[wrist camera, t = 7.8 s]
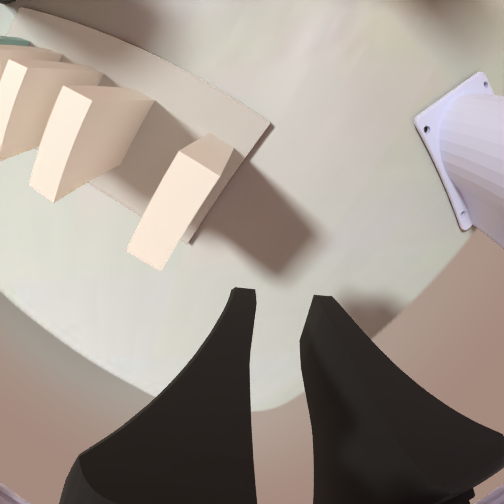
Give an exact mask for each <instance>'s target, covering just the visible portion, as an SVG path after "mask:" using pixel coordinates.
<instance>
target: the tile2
mask: <svg viewBox="0 0 504 504" xmlns="http://www.w3.org/2000/svg"><path fill="white" fill-rule="evenodd" d="M154 102H155V100H154V99H152V98H150V97H148V96H147V95H145V94H143V93H141V92H139V91H137V90H135V89H132V88H120V87H106V86H79V85H63V87H62V89H61V91H60V94H59V96H58V98H57V100H56V103H55V105H54V108H53V110H52V113H51V115H50V118H49V120H48V123H47V126H46V129H45V131H44V134H43V137H42V140H41V143H40V146H39V150H38V153H37V156H36V159H35V163H34V166H33V170H32V174H31V178H30V182H29V186H31V187H32V188H33V189H35V190H36V191H37V192H39V193H40V194H42V195H43V196H44V197H46V198H47V199H49V200H50V201H52V202H53V203H54V202H56V201H57V200H59V199H61V198H62V197H64V196H65V195H67V194H69V193H70V192H72V191H74V190H75V189H77V188H79V187H80V186H82V185H84V184H86V183H87V182H89V181H91V180H93V179H94V178H96V177H98V176H100V175H102V174H104V173H105V172H107V171H109V170H111V169H113V168H115V167H117V166H119V165H121V163H122V161H123V159H124V157H125V155H126V153H127V151H128V149H129V147H130V145H131V143H132V141H133V139H134V137H135V135H136V133H137V132H138V130H139V128H140V126H141V124H142V122H143V121H144V119H145V117H146V115H147V114H148V112H149V110H150V108H151V107H152V105H153V103H154Z"/></svg>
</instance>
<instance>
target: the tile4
mask: <svg viewBox="0 0 504 504" xmlns="http://www.w3.org/2000/svg"><path fill="white" fill-rule="evenodd" d="M61 57H62V54H60V53H58V52H55V51H53V50H51V49H47V48H38V47H29V46H18V45H0V81H1V78H2V75H3V73H4V70H5V68H6V65H7V63H8V60H9V59H23V60H42V61H54V62H59V61H60V59H61Z"/></svg>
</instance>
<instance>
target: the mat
mask: <svg viewBox="0 0 504 504" xmlns="http://www.w3.org/2000/svg"><path fill="white" fill-rule="evenodd" d="M5 36H8V37H19V38H22V39H25V40H28V41H30V44H29V47H38V48H47V49H51V50H53V51H55V52H58V53H60V54H62V57H61V59H60V61H59V62H64V63H73V64H81V65H87V66H89V67H91V68H93V69H95V70H97V71H100V72H102V73H104V75H103V77H102V78H101V80H100V82H99V84H98V86H106V87H120V88H132V89H135V90H137V91H139V92H141V93H143V94H145V95H147V96H148V97H150V98H152V99H154V100H155V102H154V103H153V105H152V107H151V108H150V110H149V112H148V114H147V115H146V117H145V119H144V121H143V122H142V124H141V126H140V128H139V130H138V132H137V133H136V135H135V137H134V139H133V141H132V143H131V145H130V147H129V149H128V151H127V153H126V155H125V157H124V159H123V161H122V163H121V165H119V166H117V167H115V168H113V169H111V170H109V171H107V172H105V173H104V174H102V175H100V176H98V177H96V178H94V179H93V180H91V181H89V182H87V183H89V184H90V185H92V186H93V187H95V188H96V189H98V190H100V191H101V192H103V193H104V194H106V195H107V196H109V197H111V198H112V199H114V200H115V201H117V202H119V203H120V204H122V205H123V206H125V207H127V208H128V209H130V210H131V211H133V212H135V213H136V214H138V215H140V216H141V217H142V216H143V214H144V212H145V210H146V209H147V207H148V205H149V203H150V201H151V199H152V197H153V195H154V193H155V192H156V190H157V188H158V186H159V184H160V182H161V181H162V179H163V177H164V175H165V174H166V172H167V170H168V168H169V167H170V165H171V163H172V161H173V160H174V158H175V156H176V155H177V153H178V151H179V150H181V149H183V148H184V147H186V146H188V145H189V144H191V143H193V142H195V141H196V140H198V139H200V138H201V137H203V136H205V135H207V134H209V133H212V134H213V135H215V136H216V137H218V138H220V139H221V140H223V141H224V142H226V143H227V144H229V145H231V146H232V147H234V149H233V151H232V153H231V155H230V157H229V159H228V161H227V163H226V165H225V167H224V170H223V172H222V174H221V176H220V177H219V179H218V180H217V182H216V183H215V185H214V186H213V188H212V189H211V191H210V192H209V194H208V196H207V197H206V199H205V200H204V202H203V203H202V205H201V206H200V208H199V209H198V211H197V213H196V214H195V216H194V217H193V219H192V220H191V222H190V224H189V225H188V227H187V228H186V230H185V232H184V233H183V235H182V237H181V238H180V240H181V241H182V242H184V243H186V244H188V242H189V241H190V239H191V237H192V236H193V234H194V233H195V231H196V230H197V228H198V227H199V225H200V223H201V222H202V220H203V219H204V217H205V216H206V214H207V213H208V211H209V210H210V208H211V207H212V205H213V204H214V202H215V201H216V199H217V198H218V196H219V195H220V193H221V192H222V190H223V189H224V188H225V186H226V185H227V183H228V182H229V180H230V179H231V177H232V176H233V174H234V173H235V172H236V170H237V169H238V167H239V166H240V164H241V163H242V162H243V160H244V159H245V157H246V156H247V155H248V153H249V152H250V150H251V149H252V148H253V146H254V145H255V143H256V142H257V141H258V139H259V138H260V137H261V135H262V134H263V133H264V131H265V130H266V128H267V127H268V126H269V124H270V122H269V121H268V120H266V119H265V118H263V117H262V116H260V115H259V114H257V113H256V112H254V111H252V110H251V109H249V108H248V107H246V106H245V105H243V104H242V103H240V102H238V101H237V100H235V99H234V98H232V97H230V96H229V95H227V94H225V93H224V92H222V91H220V90H219V89H217V88H215V87H214V86H212V85H210V84H208V83H207V82H205V81H203V80H201V79H200V78H198V77H196V76H194V75H192V74H191V73H189V72H187V71H185V70H183V69H181V68H179V67H177V66H176V65H174V64H172V63H170V62H168V61H166V60H164V59H162V58H160V57H158V56H156V55H154V54H151V53H149V52H147V51H145V50H143V49H141V48H139V47H136V46H134V45H132V44H130V43H127V42H125V41H123V40H120V39H118V38H116V37H113V36H111V35H108V34H106V33H103V32H101V31H98V30H95V29H93V28H90V27H87V26H84V25H82V24H79V23H76V22H73V21H70V20H67V19H64V18H60V17H57V16H54V15H50V14H47V13H43V12H39V11H36V10H32V9H27V8H23V7H20V8H19V10H18V12H17V14H16V16H15V17H14V19H13V21H12V23H11V25H10V27H9V29H8V31H7V33H6V35H5ZM35 149H36V150H39V147H37V148H35Z"/></svg>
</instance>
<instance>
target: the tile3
mask: <svg viewBox="0 0 504 504" xmlns="http://www.w3.org/2000/svg"><path fill="white" fill-rule="evenodd" d="M103 75H104V73H102V72H100V71H97V70H95V69H93V68H91V67H89V66H87V65H81V64H73V63H64V62H54V61H42V60H23V59H9V60H8V63H7V65H6V68H5V70H4V73H3V75H2V78H1V81H0V161H2V160H4V159H7V158H9V157H12V156H14V155H17V154H20V153H23V152H25V151H28V150H31V149H34V148H37V147H39V146H40V143H41V140H42V137H43V134H44V131H45V129H46V126H47V123H48V120H49V118H50V115H51V113H52V110H53V108H54V105H55V103H56V100H57V98H58V96H59V94H60V91H61V89H62V87H63V85H79V86H98V84H99V82H100V80H101V78H102V77H103Z"/></svg>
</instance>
